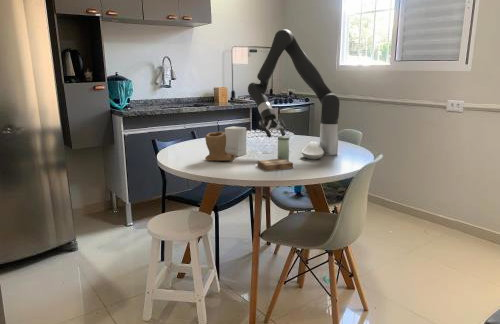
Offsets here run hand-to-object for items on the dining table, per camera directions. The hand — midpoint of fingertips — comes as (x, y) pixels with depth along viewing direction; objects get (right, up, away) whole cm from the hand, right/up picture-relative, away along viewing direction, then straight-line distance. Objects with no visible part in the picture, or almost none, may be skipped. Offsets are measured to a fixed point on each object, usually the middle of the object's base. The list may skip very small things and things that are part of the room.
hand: (277, 136), depth 199 cm
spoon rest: (+20, -11, +8) cm, 24 cm away
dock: (-2, -16, -16) cm, 23 cm away
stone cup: (-30, -13, -4) cm, 33 cm away
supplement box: (-22, -10, +10) cm, 26 cm away
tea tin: (+3, -13, -3) cm, 13 cm away
